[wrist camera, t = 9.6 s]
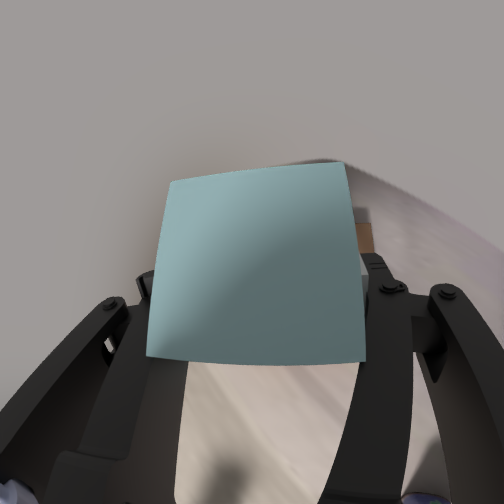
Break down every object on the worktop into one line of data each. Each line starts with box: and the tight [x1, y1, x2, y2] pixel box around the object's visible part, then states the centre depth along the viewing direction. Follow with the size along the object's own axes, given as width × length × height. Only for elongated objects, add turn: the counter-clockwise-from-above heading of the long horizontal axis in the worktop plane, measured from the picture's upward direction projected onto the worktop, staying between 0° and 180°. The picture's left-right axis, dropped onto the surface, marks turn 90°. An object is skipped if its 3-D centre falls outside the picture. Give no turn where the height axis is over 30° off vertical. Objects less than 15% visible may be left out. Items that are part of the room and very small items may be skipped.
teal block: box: [146, 162, 366, 366], centre depth 12 cm, size 5×5×12 cm
